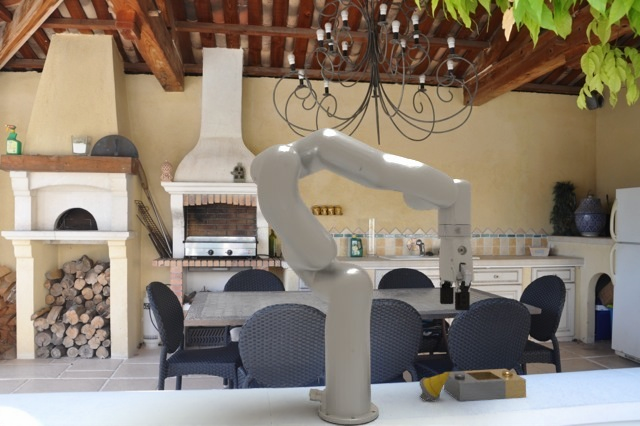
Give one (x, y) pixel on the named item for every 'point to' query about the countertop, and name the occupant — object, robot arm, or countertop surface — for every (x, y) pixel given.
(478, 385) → the metal strike plate
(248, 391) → the countertop surface
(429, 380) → the yellow tiered cone
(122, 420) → the countertop surface
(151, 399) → the countertop surface
